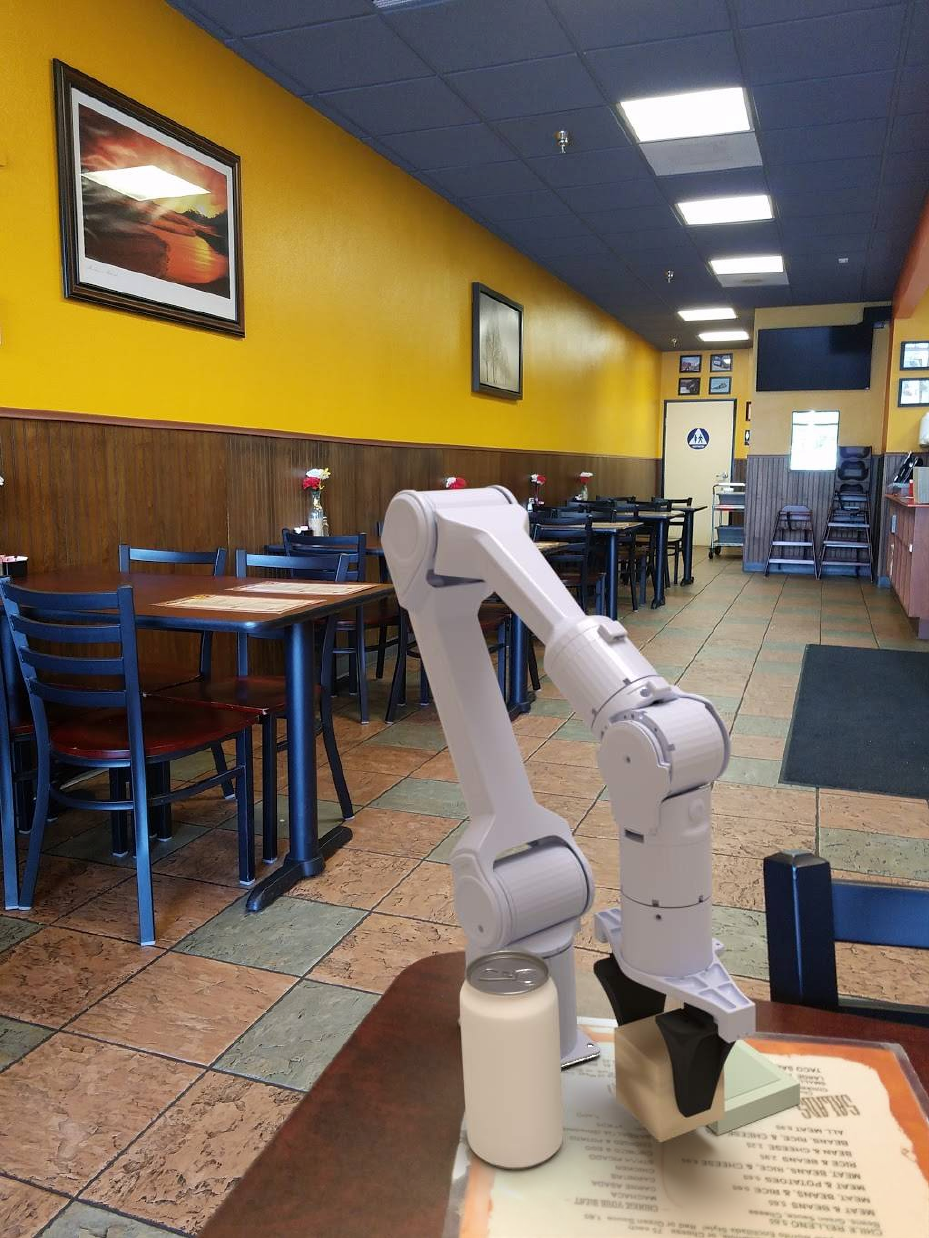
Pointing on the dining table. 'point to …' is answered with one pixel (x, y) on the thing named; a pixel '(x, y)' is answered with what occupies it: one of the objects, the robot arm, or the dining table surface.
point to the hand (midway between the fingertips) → (668, 1085)
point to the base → (753, 1088)
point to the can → (511, 1059)
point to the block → (655, 1082)
